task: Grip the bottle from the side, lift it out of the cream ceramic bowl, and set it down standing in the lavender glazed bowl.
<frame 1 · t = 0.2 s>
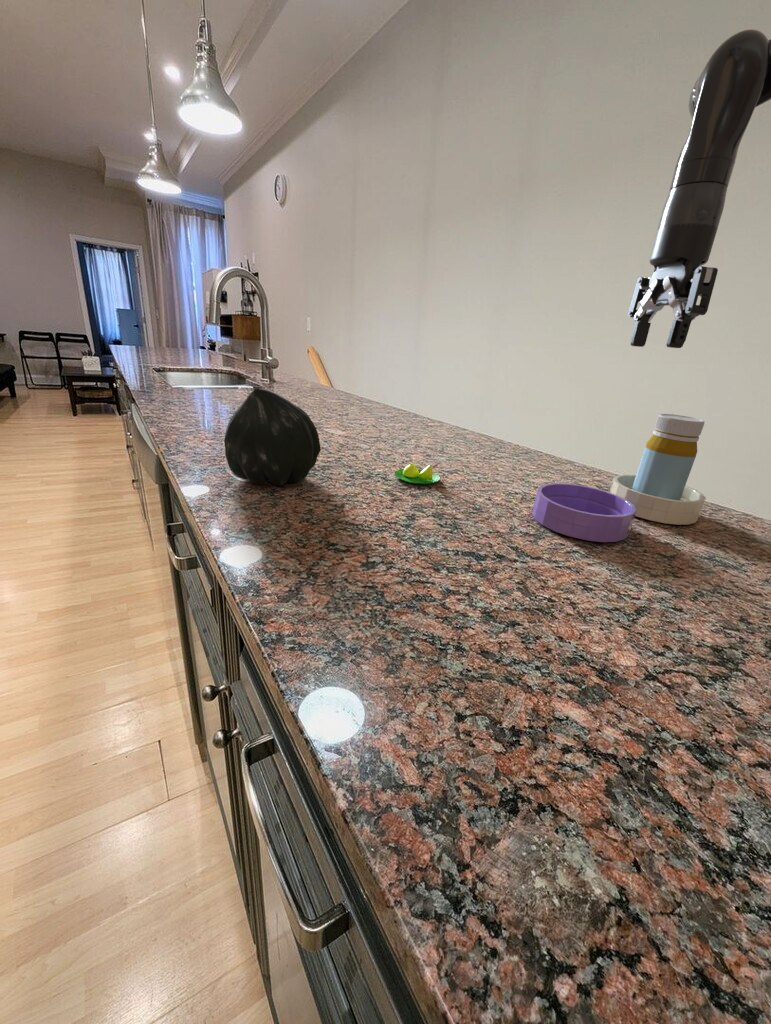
hand: (654, 347, 70), 25 cm above the table, tool pointing down, fingers open, 8 cm apart
lavender bowl: (578, 523, 65), on the table
squash: (273, 479, 72), on the table
plate of pears: (416, 480, 78), on the table
cream bowl: (650, 509, 74), on the table
bottle: (650, 509, 74), resting on cream bowl
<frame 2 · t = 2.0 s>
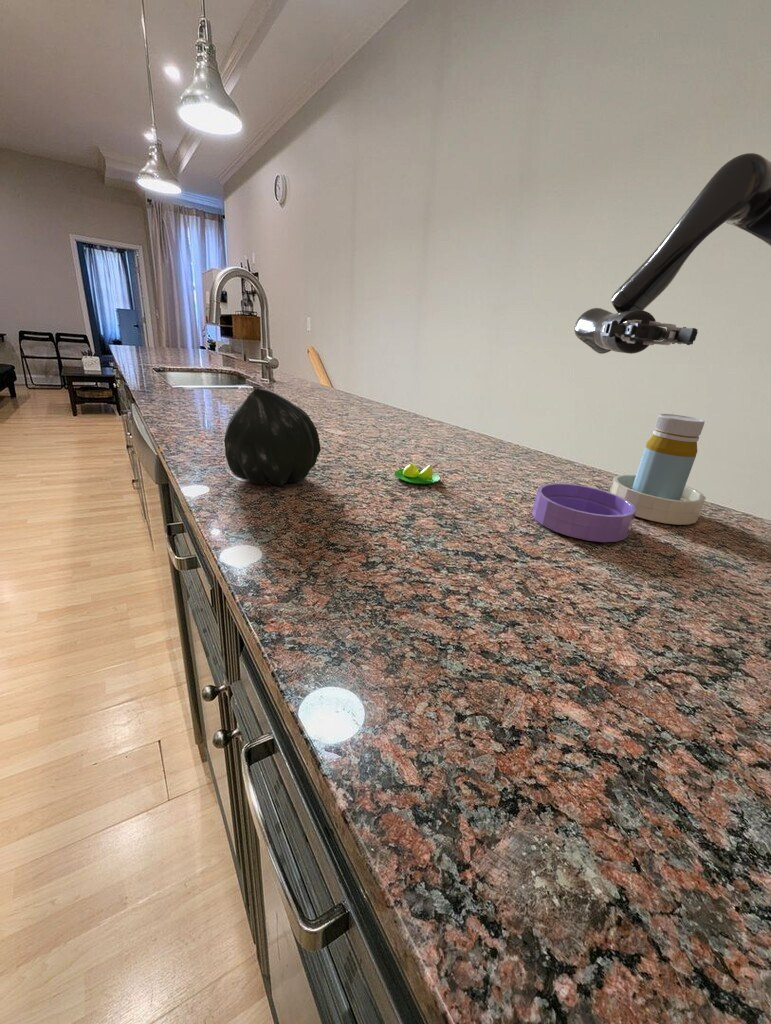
hand: (665, 333, 72), 27 cm above the table, tool horizontal, fingers open, 8 cm apart
nothing on the table moved.
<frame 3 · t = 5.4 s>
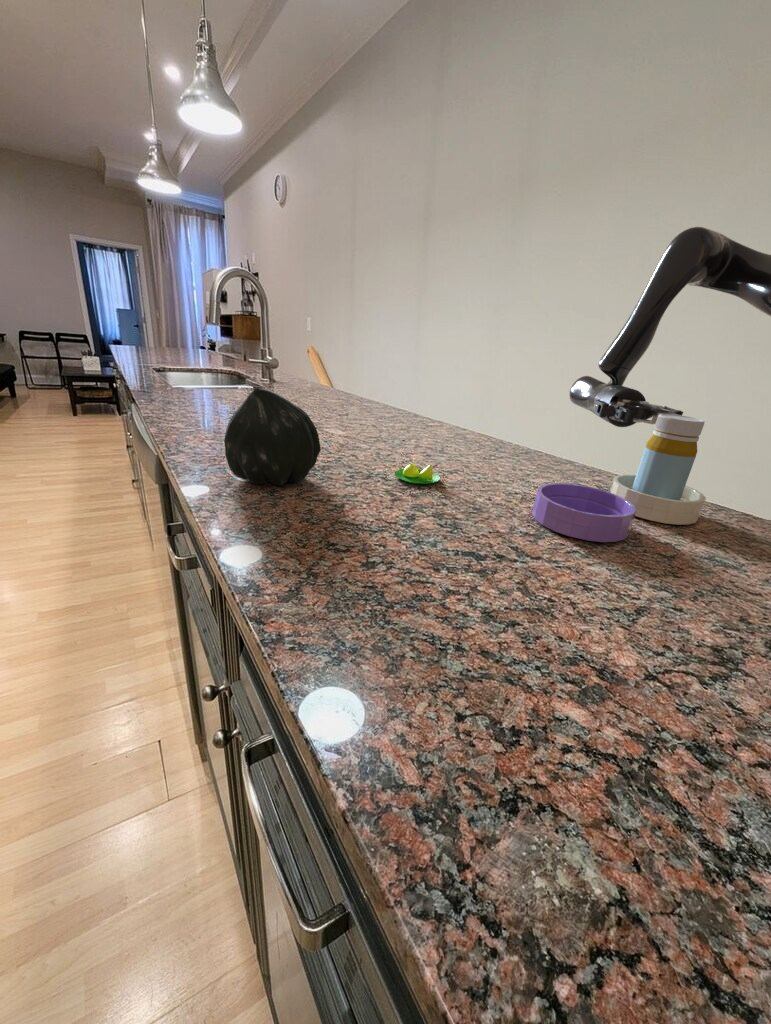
hand: (652, 419, 77), 14 cm above the table, tool horizontal, fingers open, 8 cm apart
nothing on the table moved.
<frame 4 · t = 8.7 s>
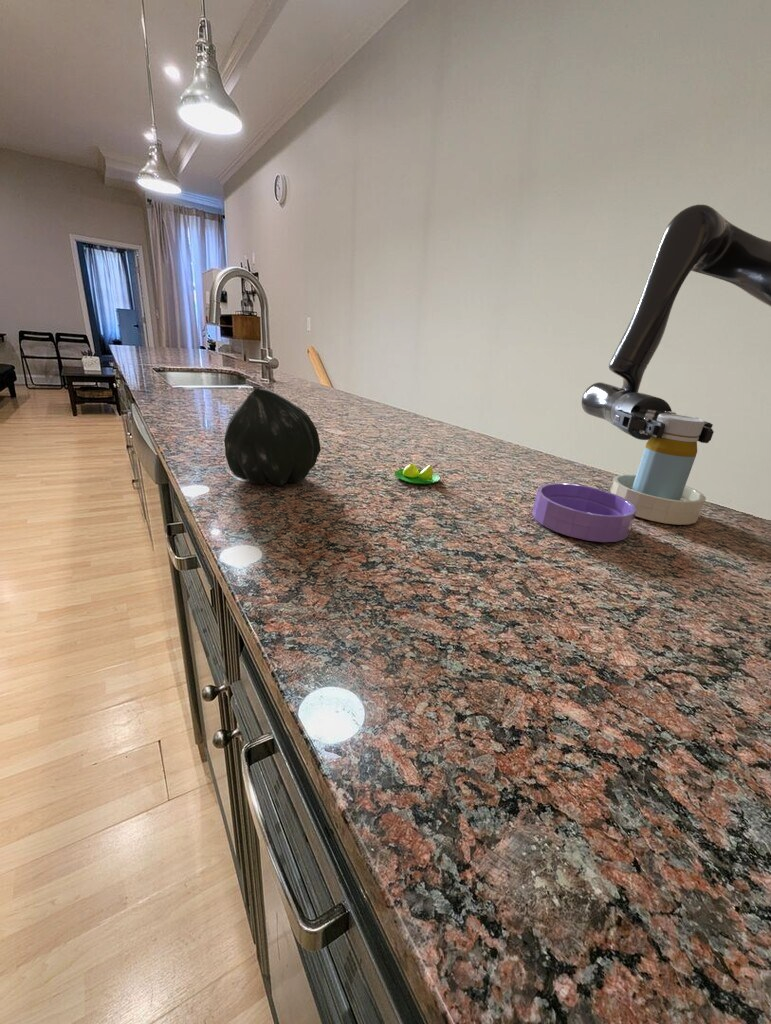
hand: (684, 433, 67), 13 cm above the table, tool horizontal, fingers closed on bottle, 6 cm apart
bottle: (650, 509, 74), resting on cream bowl, touching gripper
everything else where it was.
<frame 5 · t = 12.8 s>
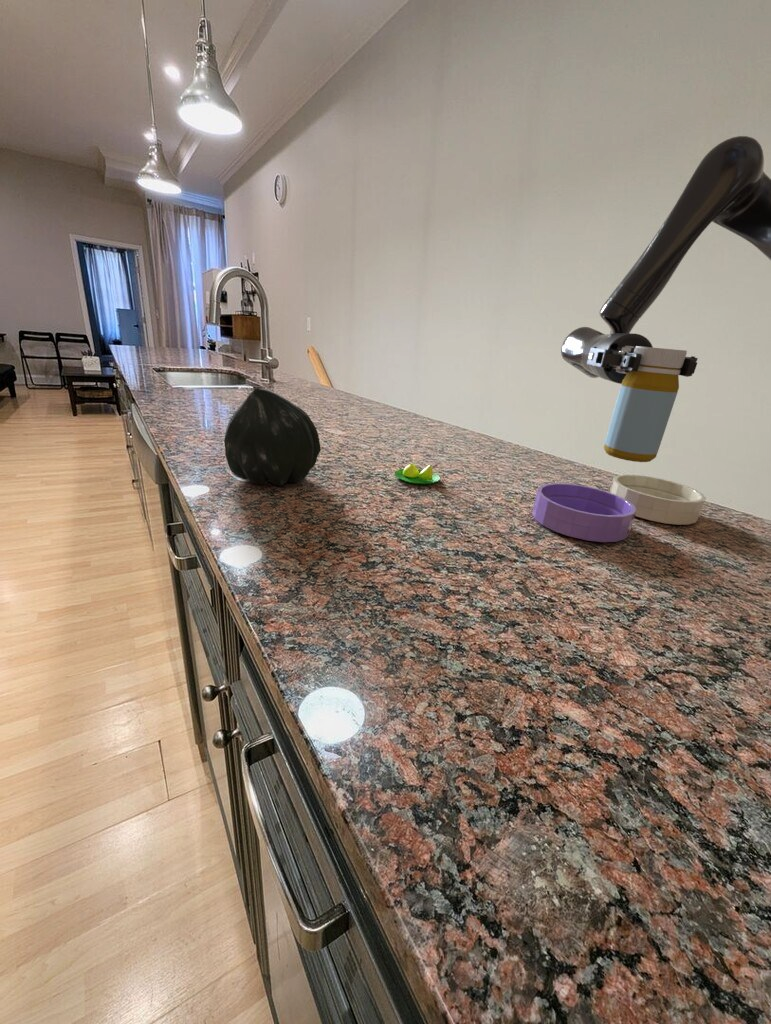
hand: (664, 365, 58), 23 cm above the table, tool horizontal, fingers closed on bottle, 6 cm apart
bottle: (627, 457, 66), point 10 cm above the table, touching gripper
everything else where it was.
when the fingers open (13 cm above the table, at t = 17.1 s): bottle stays where it is, resting on lavender bowl.
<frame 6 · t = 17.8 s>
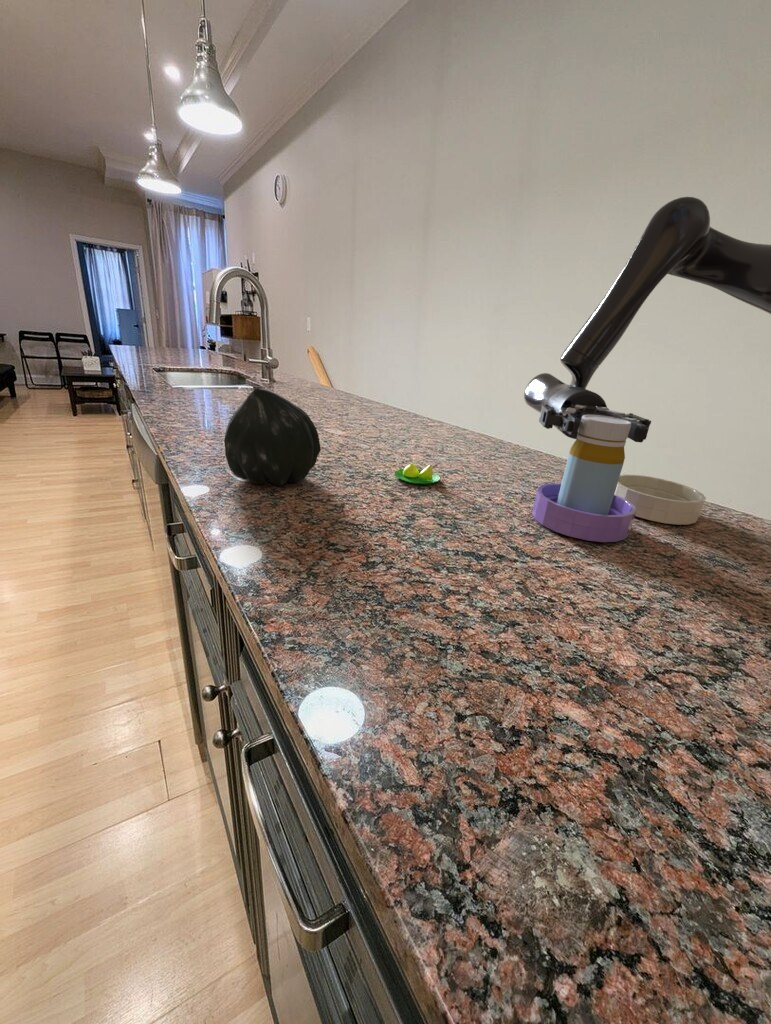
hand: (609, 431, 59), 14 cm above the table, tool horizontal, fingers open, 8 cm apart
bottle: (577, 522, 66), resting on lavender bowl
everything else where it was.
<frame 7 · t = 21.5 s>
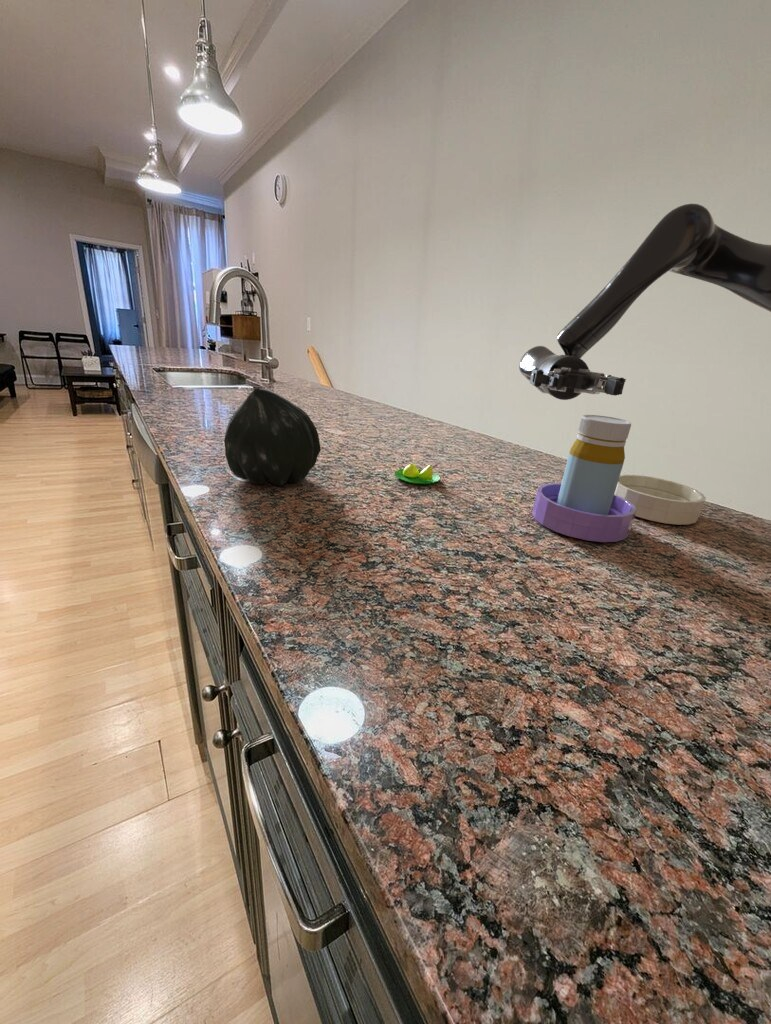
hand: (588, 385, 68), 19 cm above the table, tool horizontal, fingers open, 8 cm apart
nothing on the table moved.
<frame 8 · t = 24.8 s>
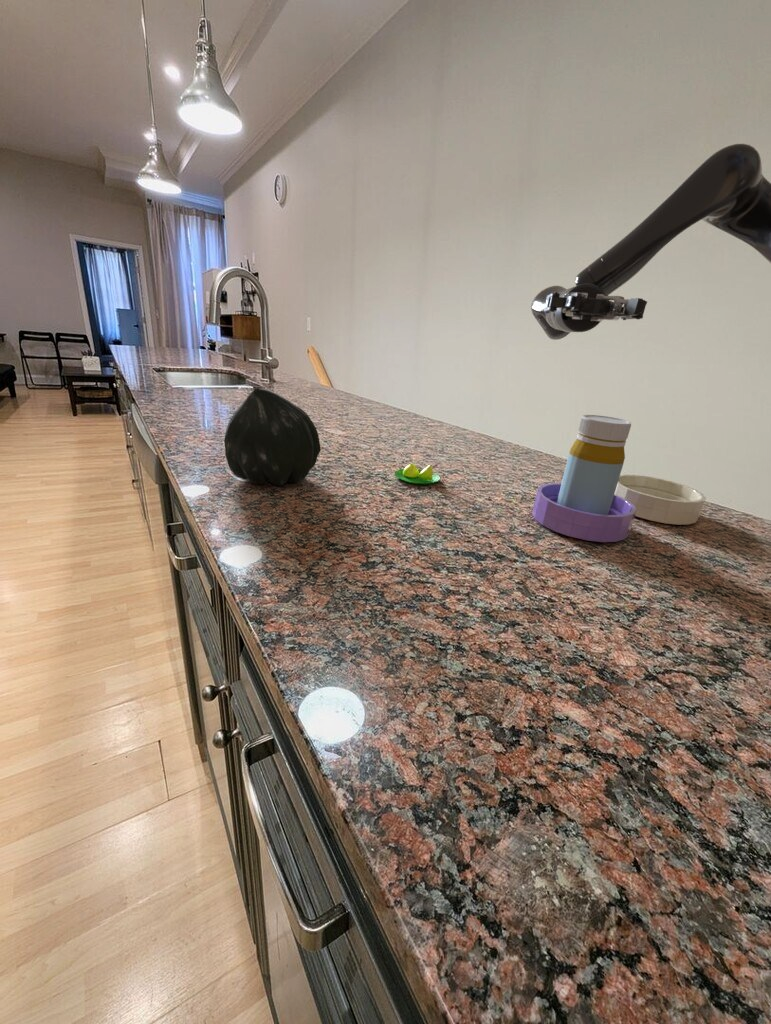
hand: (608, 303, 64), 30 cm above the table, tool horizontal, fingers open, 8 cm apart
nothing on the table moved.
at the end: bottle inside the target area in the lavender bowl (0.2 cm from its centre), point 0.1 cm above the lavender bowl's base; bottle tilted 0°; the gripper is holding nothing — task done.
